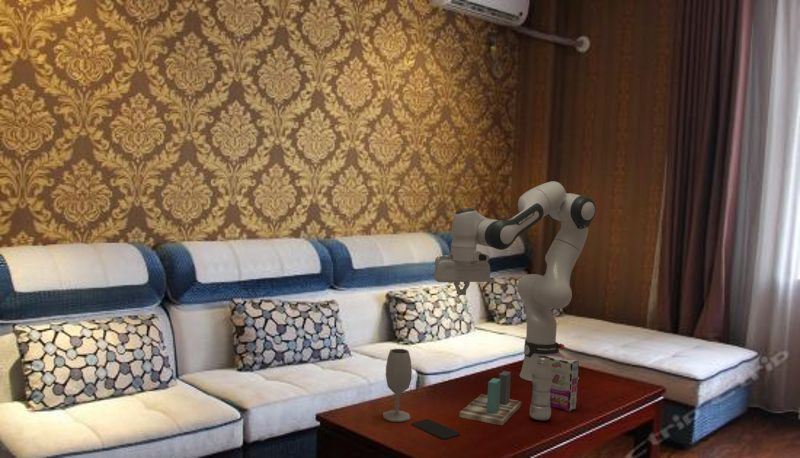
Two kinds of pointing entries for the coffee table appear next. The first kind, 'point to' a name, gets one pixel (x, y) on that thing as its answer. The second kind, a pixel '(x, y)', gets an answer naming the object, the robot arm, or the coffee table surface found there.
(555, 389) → the candy bar box
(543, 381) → the plastic bottle
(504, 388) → the grey slab
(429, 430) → the phone
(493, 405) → the upright teal brick
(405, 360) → the wineglass
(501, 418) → the divided base tray
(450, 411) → the coffee table surface
